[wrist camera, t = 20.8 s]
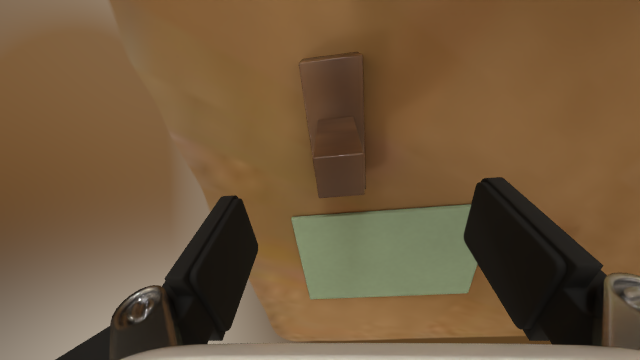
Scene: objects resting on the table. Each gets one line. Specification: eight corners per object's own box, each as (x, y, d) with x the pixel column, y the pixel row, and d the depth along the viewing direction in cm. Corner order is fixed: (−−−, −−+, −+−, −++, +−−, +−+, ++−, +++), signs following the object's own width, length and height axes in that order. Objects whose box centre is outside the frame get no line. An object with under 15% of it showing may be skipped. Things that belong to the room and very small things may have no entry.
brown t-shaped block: (319, 177, 22) (314, 247, 15) (302, 58, 17) (282, 79, 10) (362, 173, 22) (378, 243, 15) (358, 51, 17) (380, 67, 10)
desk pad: (494, 202, 23) (497, 204, 23) (466, 290, 31) (467, 293, 30) (291, 216, 25) (291, 219, 25) (310, 296, 32) (310, 299, 32)
